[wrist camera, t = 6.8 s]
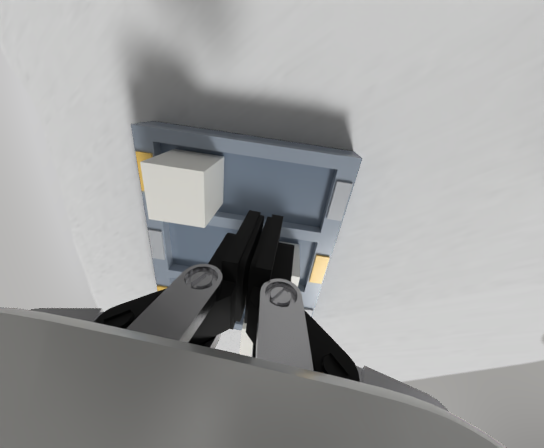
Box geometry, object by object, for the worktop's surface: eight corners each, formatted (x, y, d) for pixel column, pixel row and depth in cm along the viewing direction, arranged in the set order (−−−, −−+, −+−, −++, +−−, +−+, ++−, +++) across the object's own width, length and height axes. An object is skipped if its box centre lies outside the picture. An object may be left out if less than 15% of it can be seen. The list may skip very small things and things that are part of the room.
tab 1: (224, 156, 18) (203, 171, 14) (223, 202, 20) (204, 228, 16) (174, 148, 18) (140, 161, 14) (178, 195, 20) (148, 219, 16)
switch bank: (353, 151, 19) (363, 159, 16) (303, 319, 29) (304, 342, 26) (153, 121, 19) (129, 124, 16) (173, 297, 29) (160, 318, 26)
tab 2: (287, 297, 24) (285, 335, 20) (281, 322, 26) (279, 361, 22) (250, 291, 24) (242, 328, 20) (247, 316, 26) (239, 354, 22)
